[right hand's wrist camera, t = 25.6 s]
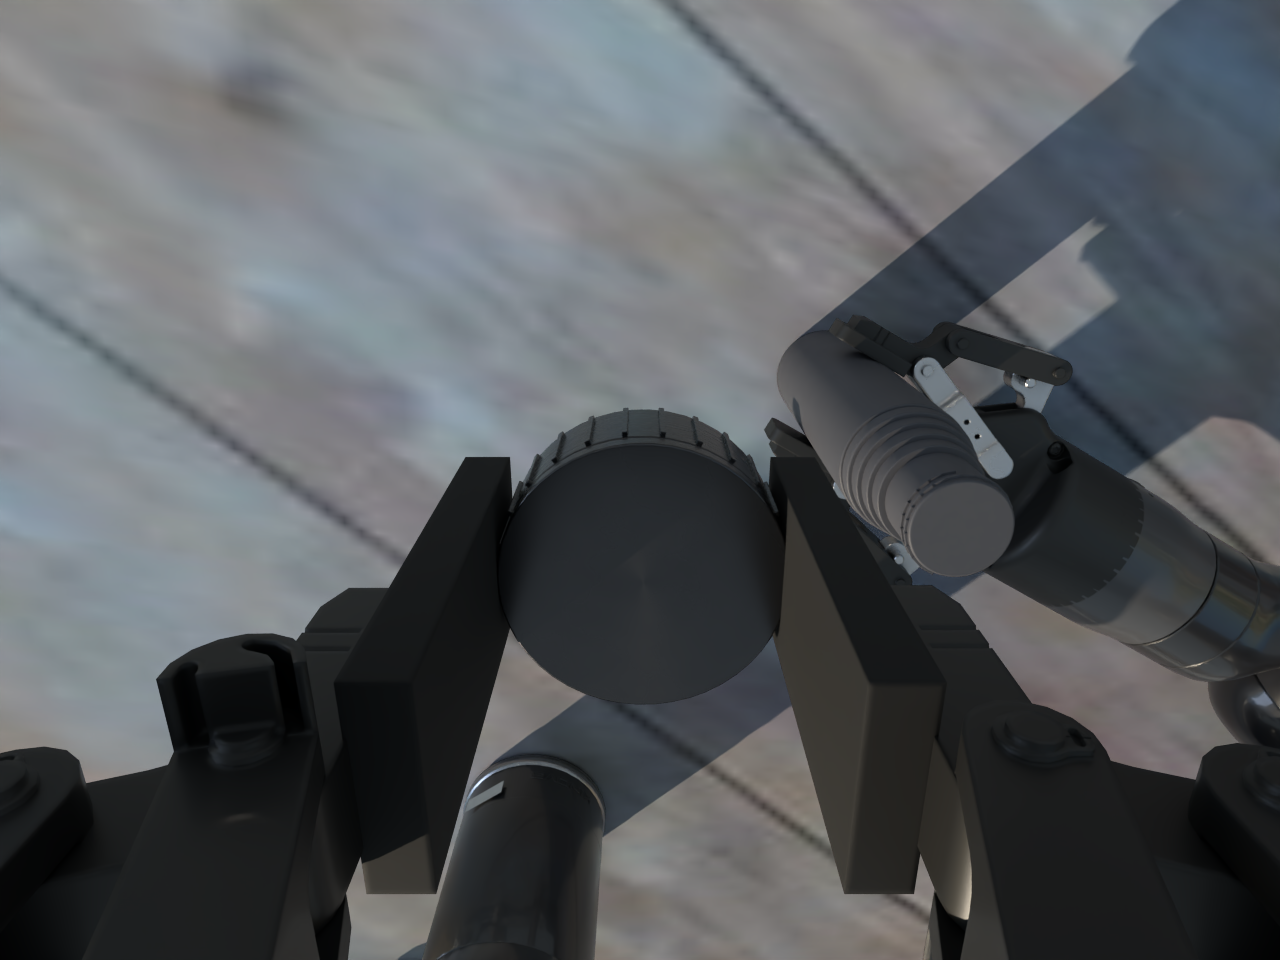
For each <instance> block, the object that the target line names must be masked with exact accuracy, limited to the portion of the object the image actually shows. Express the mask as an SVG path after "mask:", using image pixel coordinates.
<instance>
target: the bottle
mask: <svg viewBox="0 0 1280 960" xmlns="http://www.w3.org/2000/svg"><path fill="white" fill-rule="evenodd" d="M777 384H778V389H779V392H780V394H781V397H782V398H783V400H784V402H785V403H786V405H787V406H788V408H789V410H790V411H791V413H792V414H793V416H794V418H795V419H796V421H797V422H798V424H799V425H800V427H801V429H802V430H803V432H804V433H805V435H806V437H807V438H808V440H809V441H810V443H811V445H812V446H813V448H814V449H815V451H816V452H817V454H818V456H819V457H820V459H821V460H822V462H823V464H824V465H825V467H826V468H827V470H828V472H829V473H830V475H831V476H832V478H833V479H834V481H835V483H836V484H837V486H838V487H839V489H840V491H841V492H842V494H843V495H844V497H845V499H846V500H847V502H848V503H849V505H850V506H851V507H852V508H853V509H854V510H855V511H856V512H857V513H858V514H859V515H860V516H861V517H862V518H863V519H864V520H865V521H867V522H868V523H870V524H871V525H873V526H875V527H877V528H878V529H880V530H881V531H883V532H885V533H887V534H889V535H890V536H892V537H894V538H896V539H898V540H900V541H901V542H903V544H904V546H905V549H906V551H907V552H908V554H909V555H910V556H911V558H912V559H913V560H914V561H915V562H916V563H917V564H918V566H919V567H920V568H922V569H923V570H925V571H927V572H928V573H930V574H933V573H936V574H939V575H943V576H950V577H961V576H968V575H971V574H975V573H977V572H980V571H982V570H984V569H986V568H987V567H989V566H990V565H992V564H993V563H994V562H996V561H997V560H998V559H999V558H1000V557H1001V556H1002V555H1003V553H1004V552H1005V550H1006V549H1007V547H1008V546H1009V544H1010V541H1011V539H1012V536H1013V532H1014V526H1015V519H1014V512H1013V506H1012V504H1011V502H1010V499H1009V497H1008V495H1007V494H1006V493H1005V491H1004V490H1003V489H1002V488H1001V487H1000V486H999V485H998V484H997V483H995V482H993V481H992V480H990V479H989V478H987V477H986V476H985V473H984V471H983V469H982V466H981V463H980V461H979V459H978V456H977V453H976V451H975V449H974V447H973V444H972V442H971V440H970V438H969V437H968V435H967V434H966V433H965V431H964V430H963V429H962V427H961V426H960V425H959V423H958V422H957V421H956V420H955V419H954V418H953V417H951V416H950V415H949V414H948V413H946V412H945V411H944V410H942V409H941V408H940V407H938V406H937V405H936V404H935V403H933V402H932V401H931V400H929V399H928V398H927V397H926V396H924V395H923V394H922V393H920V392H919V391H918V390H916V389H915V388H914V387H913V386H911V385H910V384H909V383H907V382H906V381H905V380H903V379H902V378H901V377H900V376H898V375H897V374H896V373H894V372H893V371H892V370H891V369H889V368H888V367H886V366H884V365H882V364H881V363H879V362H877V361H876V360H874V359H872V358H871V357H869V356H867V355H865V354H864V353H862V352H860V351H859V350H857V349H855V348H854V347H852V346H850V345H849V344H847V343H845V342H844V341H842V340H840V339H839V338H837V337H836V336H834V335H833V334H832V333H831V332H830V331H816V332H812V333H809V334H807V335H804V336H802V337H801V338H799V339H798V340H796V341H795V342H794V343H793V344H792V345H791V346H790V347H789V348H788V349H787V350H786V352H785V353H784V355H783V357H782V359H781V361H780V363H779V367H778V372H777Z"/></svg>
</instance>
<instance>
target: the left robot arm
mask: <svg viewBox="0 0 1280 960" xmlns="http://www.w3.org/2000/svg"><path fill="white" fill-rule="evenodd" d="M829 331H830V332H831V333H832V334H833V335H834V336H836V337H837V338H839V339H840V340H842V341H844V342H845V343H847V344H849V345H850V346H852V347H854V348H855V349H857V350H859V351H860V352H862V353H864V354H865V355H867V356H869V357H871V358H872V359H874V360H876V361H877V362H879V363H881V364H882V365H884V366H886V367H888V368H889V369H891V370H892V371H894V372H896V373H897V374H899V375H901V376H902V377H904V376H905V375H907V377H908V378H909V380H910V381H911V382H912V384H913V385H914V386H915V388H916V389H917V390H918V391H919V392H920V393H922V394H923V395H924V396H926V397H927V398H928V399H929V400H931V401H932V402H933V403H935V404H936V405H937V406H938V407H940V408H941V409H942V410H944V411H945V412H946V413H948V414H949V415H950V416H951V417H953V418H954V419H955V420H956V421H957V422H958V423H959V425H960V426H961V427H962V429H963V430H964V431H965V433H966V434H967V435H968V437H969V438H970V440H971V442H972V444H973V447H974V449H975V451H976V453H977V456H978V459H979V461H980V463H981V466H982V469H983V471H984V473H985V476H986V477H987V478H989V479H990V480H992V481H993V482H995V483H997V484H998V485H999V486H1000V487H1001V488H1002V489H1003V490H1004V491H1005V493H1006V494H1007V495H1008V497H1009V499H1010V502H1011V504H1012V506H1013V512H1014V519H1015V526H1014V532H1013V536H1012V539H1011V541H1010V544H1009V546H1008V547H1007V549H1006V550H1005V552H1004V553H1003V555H1002V556H1001V557H1000V558H999V559H998V560H997V561H996V562H994V563H993V564H992V565H990V566H989V567H987V568H986V569H984V570H982V571H983V572H985V573H987V574H989V575H991V576H992V577H994V578H996V579H998V580H999V581H1001V582H1003V583H1005V584H1007V585H1008V586H1010V587H1012V588H1014V589H1016V590H1017V591H1019V592H1021V593H1023V594H1024V595H1026V596H1028V597H1030V598H1032V599H1033V600H1035V601H1037V602H1039V603H1041V604H1042V605H1044V606H1046V607H1048V608H1050V609H1051V610H1053V611H1055V612H1057V613H1059V614H1060V615H1062V616H1064V617H1066V618H1068V619H1069V620H1071V621H1073V622H1075V623H1077V624H1079V625H1081V626H1083V627H1086V628H1088V629H1091V630H1093V631H1095V632H1098V633H1101V634H1104V635H1107V636H1109V637H1111V638H1113V639H1115V640H1118V641H1119V642H1121V643H1123V644H1124V645H1126V646H1128V647H1130V648H1132V649H1133V650H1135V651H1137V652H1139V653H1141V654H1142V655H1144V656H1146V657H1148V658H1149V659H1151V660H1153V661H1155V662H1156V663H1158V664H1160V665H1162V666H1163V667H1165V668H1167V669H1169V670H1171V671H1173V672H1175V673H1177V674H1180V675H1182V676H1185V677H1187V678H1190V679H1193V680H1197V681H1205V682H1208V691H1209V698H1210V701H1211V704H1212V706H1213V709H1214V711H1215V713H1216V714H1217V716H1218V718H1219V719H1220V721H1221V722H1222V723H1223V724H1224V726H1225V727H1226V728H1227V729H1228V731H1229V732H1230V733H1231V734H1232V736H1233V737H1234V738H1235V739H1236V740H1237V741H1238V742H1239V743H1241V744H1251V745H1260V746H1268V747H1272V748H1277V749H1280V566H1277V565H1273V564H1268V563H1264V562H1260V561H1256V560H1253V559H1251V558H1249V557H1248V556H1246V555H1245V554H1243V553H1241V552H1239V551H1238V550H1236V549H1235V548H1233V547H1231V546H1230V545H1228V544H1226V543H1225V542H1223V541H1221V540H1220V539H1218V538H1216V537H1215V536H1213V535H1211V534H1210V533H1208V532H1206V531H1205V530H1203V529H1201V528H1200V527H1198V526H1197V525H1195V524H1194V523H1192V522H1191V521H1190V520H1189V519H1188V518H1187V517H1185V516H1184V515H1183V514H1182V513H1181V512H1180V511H1178V510H1177V509H1176V508H1175V507H1173V506H1172V505H1170V504H1169V503H1167V502H1166V501H1164V500H1163V499H1161V498H1160V497H1158V496H1157V495H1155V494H1153V493H1152V492H1150V491H1148V490H1147V489H1145V488H1144V487H1143V486H1142V485H1141V484H1140V483H1138V482H1136V481H1134V480H1132V479H1129V478H1127V477H1125V476H1123V475H1122V474H1120V473H1118V472H1117V471H1115V470H1113V469H1112V468H1110V467H1108V466H1107V465H1105V464H1103V463H1102V462H1100V461H1098V460H1097V459H1095V458H1093V457H1092V456H1090V455H1088V454H1087V453H1085V452H1084V451H1082V450H1080V449H1079V448H1077V447H1075V446H1074V445H1072V444H1070V443H1069V442H1067V441H1065V440H1064V439H1062V438H1060V437H1059V436H1057V435H1055V434H1054V433H1053V432H1052V431H1051V429H1050V428H1049V426H1048V423H1047V421H1046V419H1045V418H1044V416H1043V415H1042V414H1041V412H1042V410H1043V408H1044V406H1045V403H1046V401H1047V399H1048V397H1049V395H1050V393H1051V391H1052V389H1053V386H1054V385H1055V386H1058V385H1062V384H1064V383H1066V382H1067V381H1068V380H1069V379H1070V377H1071V375H1072V366H1071V364H1070V363H1069V362H1068V361H1066V360H1063V359H1061V358H1059V357H1056V356H1054V355H1052V354H1049V353H1047V352H1045V351H1042V350H1039V349H1036V348H1033V347H1030V346H1026V345H1023V344H1020V343H1016V342H1013V341H1010V340H1006V339H1003V338H1000V337H997V336H993V335H990V334H987V333H983V332H980V331H977V330H973V329H970V328H967V327H963V326H960V325H957V324H954V323H950V322H942V323H939V324H938V325H937V326H936V327H935V328H934V329H933V332H932V334H931V335H929V336H928V337H927V338H925V339H924V340H923V341H921V342H918V343H909V342H906V341H904V340H902V339H901V338H899V337H898V336H896V335H894V334H893V333H891V332H889V331H888V330H886V329H884V328H883V327H881V326H879V325H878V324H876V323H874V322H873V321H871V320H869V319H868V318H866V317H864V316H857V315H853V316H852V318H851V319H850V321H849V322H848V324H846V323H845V322H843V321H841V320H839V319H838V318H836V320H835V321H834V323H833V325H832V326H831V328H830V329H829ZM958 357H961V358H964V359H967V360H971V361H974V362H978V363H981V364H984V365H988V366H991V367H994V368H998V369H1001V370H1004V371H1005V372H1004V375H1003V379H1004V382H1005V384H1006V385H1008V386H1009V387H1011V388H1013V389H1014V390H1015V392H1016V394H1017V400H1016V403H1006V404H996V405H987V406H977V407H972V405H971V404H970V403H969V401H968V400H967V399H966V397H965V396H964V395H963V394H962V393H961V392H960V391H959V390H958V389H957V387H956V386H955V385H954V383H953V382H952V381H951V379H950V378H949V376H948V375H947V374H946V372H945V371H944V370H943V369H944V368H945V367H946V366H947V365H949V364H950V363H951V362H953V361H954V360H955V359H957V358H958ZM764 430H765V432H766V435H767V437H768V438H769V439H770V440H771V441H770V443H769V445H770V447H771V449H772V451H773V453H774V454H775V456H776V457H815V458H816V460H817V462H818V463H819V465H820V467H821V468H822V470H823V472H824V473H825V475H826V477H827V479H828V480H829V482H830V484H831V485H832V487H833V489H834V490H835V492H836V494H837V496H838V497H839V499H840V501H841V502H842V504H843V506H844V508H845V509H846V511H847V513H848V514H849V516H850V518H851V519H852V521H853V523H854V525H855V526H856V528H857V530H858V531H859V533H860V535H861V536H862V538H863V540H864V542H865V543H866V545H867V547H868V548H869V550H870V552H871V554H872V555H873V557H874V559H875V560H876V562H877V564H878V565H879V567H880V569H881V571H882V572H883V574H884V576H885V577H886V579H887V581H888V583H889V584H890V585H912V578H911V576H910V575H911V574H912V573H913V572H914V571H916V570H917V569H918V568H919V566H918V564H917V563H916V562H915V561H914V560H913V559H912V558H911V556H910V555H909V554H908V552H907V551H906V549H905V546H904V544H903V542H901V541H900V540H898V539H896V538H894V537H892V536H887V537H884V538H883V539H882V540H880V539H878V538H877V537H876V536H875V535H874V534H873V533H872V532H871V531H870V530H869V529H868V528H867V527H866V526H865V525H864V524H863V523H861V522H860V521H859V520H858V519H857V518H856V517H855V516H854V515H853V514H852V513H851V512H850V511H849V508H850V505H849V503H848V502H847V500H846V499H845V497H844V495H843V494H842V492H841V491H840V489H839V487H838V486H837V484H836V483H835V481H834V479H833V478H832V476H831V475H830V473H829V472H828V470H827V468H826V467H825V465H824V464H823V462H822V460H821V459H820V457H819V456H818V454H817V452H816V451H815V449H814V448H813V446H812V445H811V443H810V441H809V440H808V438H807V437H806V436H805V435H804V434H802V433H800V432H798V431H797V430H795V429H793V428H791V427H789V426H788V425H786V424H784V423H782V422H781V421H779V420H777V419H775V418H771V420H770V422H769V423H768V425H767V426H766V428H765V429H764ZM604 828H605V805H604V801H603V797H602V795H601V793H600V791H599V789H598V787H597V786H596V784H595V783H594V782H593V781H592V779H591V778H590V777H589V776H588V775H587V774H585V773H584V772H583V771H582V770H580V769H579V768H577V767H576V766H574V765H572V764H570V763H568V762H566V761H563V760H561V759H558V758H554V757H550V756H544V755H520V756H515V757H511V758H507V759H504V760H502V761H499V762H497V763H495V764H493V765H492V766H490V767H489V768H487V769H486V770H485V771H483V772H482V773H481V774H480V775H479V776H478V777H477V779H476V780H475V781H474V783H473V784H472V786H471V788H470V790H469V793H468V795H467V799H466V802H465V806H464V811H463V819H462V822H461V826H460V829H459V833H458V836H457V839H456V842H455V846H454V849H453V853H452V856H451V860H450V863H449V867H448V870H447V874H446V877H445V881H444V884H443V888H442V891H441V895H440V898H439V902H438V905H437V909H436V912H435V916H434V919H433V923H432V926H431V930H430V933H429V937H428V940H427V944H426V947H425V951H424V954H423V958H422V960H594V958H595V943H596V927H597V912H598V896H599V881H600V865H601V852H602V837H603V834H604Z"/></svg>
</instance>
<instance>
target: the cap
mask: <svg viewBox="0 0 1280 960" xmlns="http://www.w3.org/2000/svg"><path fill="white" fill-rule="evenodd" d="M507 515H508V516H509V519H508V522H507V524H506V527H505V530H504V533H503V535H502V538H501V541H500V549H499V554H498V559H497V583H498V594H499V598H500V603H501V607H502V610H503V613H504V615H505V618H506V620H507V623H508V625H509V627H510V629H511V630H512V632H513V634H514V636H515V638H516V639H517V641H518V642H519V643H520V645H521V646H522V647H523V649H524V650H525V651H526V653H527V654H528V655H529V656H530V657H531V658H532V659H533V660H534V661H535V662H536V663H537V664H538V665H539V666H540V667H541V668H542V669H544V670H545V671H546V672H548V673H549V674H550V675H551V676H553V677H554V678H556V679H557V680H559V681H561V682H562V683H564V684H566V685H567V686H569V687H571V688H573V689H576V690H578V691H580V692H582V693H584V694H587V695H590V696H593V697H596V698H599V699H603V700H608V701H613V702H618V703H627V704H660V703H668V702H674V701H678V700H682V699H687V698H690V697H693V696H696V695H699V694H702V693H704V692H707V691H709V690H711V689H713V688H715V687H717V686H719V685H721V684H723V683H724V682H726V681H727V680H729V679H730V678H732V677H734V676H735V675H737V674H738V673H739V672H740V671H741V670H743V669H744V668H745V667H746V666H747V665H749V664H750V663H751V662H752V661H753V660H754V658H755V657H756V656H757V655H758V654H759V653H760V652H761V651H762V650H763V648H764V647H765V645H766V644H767V643H768V641H769V640H770V638H771V637H772V635H773V633H774V631H775V629H776V628H777V626H778V624H779V622H780V619H781V608H782V594H783V579H784V565H785V550H786V542H785V537H784V535H783V532H782V529H781V527H780V524H779V522H778V519H777V517H778V516H780V513H779V511H778V508H777V505H776V503H775V500H774V498H773V495H772V493H771V490H770V488H769V485H768V483H767V482H764V483H763V481H762V479H761V477H760V475H759V473H758V472H757V470H756V467H755V464H754V462H753V459H752V457H751V456H750V454H749V455H747V456H746V455H745V454H744V452H743V451H742V450H741V449H739V448H738V447H737V446H736V445H735V444H734V443H733V442H732V441H731V440H730V439H729V436H728V434H727V433H725V432H724V433H723V434H721V433H720V432H719V431H717V430H715V429H714V428H712V427H710V426H708V425H706V424H704V423H703V422H700V421H699V420H698V417H695V416H693V418H690V417H687V416H684V415H680V414H676V413H672V412H667V411H664V408H659V410H628V408H623V411H621V412H614V413H610V414H607V415H603V416H599V417H596V418H594V416H591V417H589V420H588V421H587V422H584V423H582V424H580V425H578V426H576V427H575V428H573V429H571V430H569V431H568V432H566V433H565V434H564V432H561V433H560V434H559V435H558V439H557V440H555V441H554V442H553V443H552V444H551V445H550V446H549V447H548V448H547V449H546V450H545V451H544V452H543V453H542V454H541V455H539V454H537V455H536V456H535V457H534V460H533V463H532V466H531V468H530V470H529V472H528V474H527V475H526V477H525V479H524V481H523V482H521V481H519V483H518V486H517V488H516V491H515V494H514V496H513V499H512V501H511V504H510V507H509V509H508V512H507Z"/></svg>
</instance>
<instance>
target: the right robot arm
mask: <svg viewBox="0 0 1280 960" xmlns="http://www.w3.org/2000/svg"><path fill="white" fill-rule="evenodd" d="M769 488H770V490H771V493H772V495H773V498H774V500H775V503H776V505H777V508H778V511H779V513H780V516H778V517H777V519H778V522H779V524H780V527H781V529H782V532H783V535H784V537H785V542H786V550H785V565H784V579H783V594H782V608H781V619H780V622H779V624H778V626H777V628H776V629H775V631H774V633H773V639H774V642H775V646H776V649H777V653H778V657H779V660H780V664H781V667H782V671H783V675H784V678H785V682H786V685H787V689H788V693H789V696H790V700H791V703H792V707H793V711H794V714H795V718H796V721H797V725H798V729H799V732H800V736H801V739H802V743H803V747H804V750H805V754H806V757H807V761H808V765H809V768H810V772H811V775H812V779H813V783H814V786H815V790H816V793H817V797H818V801H819V804H820V808H821V811H822V815H823V819H824V822H825V826H826V829H827V833H828V837H829V840H830V844H831V847H832V851H833V855H834V858H835V862H836V865H837V869H838V873H839V876H840V880H841V883H842V887H843V891H844V894H914V890H915V884H916V877H917V871H918V865H919V858H920V854H921V856H922V859H923V861H924V864H925V866H926V868H927V871H928V873H929V876H930V878H931V881H932V883H933V886H934V888H935V890H934V896H933V902H932V908H931V914H930V920H929V926H928V932H927V937H926V943H925V949H924V955H923V960H1280V749H1277V748H1272V747H1268V746H1260V745H1251V744H1241V743H1235V744H1229V745H1222V746H1216V747H1214V748H1213V749H1212V750H1210V751H1209V752H1208V753H1207V754H1206V755H1204V756H1203V757H1202V761H1201V764H1200V767H1199V771H1198V774H1197V777H1196V780H1194V779H1189V778H1184V777H1179V776H1174V775H1170V774H1165V773H1160V772H1155V771H1150V770H1145V769H1141V768H1136V767H1132V766H1128V765H1124V764H1121V763H1117V762H1113V761H1111V760H1110V758H1109V756H1108V754H1107V751H1106V750H1105V748H1104V747H1103V746H1102V744H1101V743H1100V742H1099V740H1098V739H1097V738H1096V736H1095V735H1094V734H1093V733H1092V732H1091V731H1089V730H1088V729H1087V728H1085V727H1084V726H1082V725H1081V724H1080V723H1078V722H1077V721H1076V720H1074V719H1073V718H1071V717H1069V716H1066V715H1064V714H1062V713H1059V712H1057V711H1055V710H1053V709H1050V708H1048V707H1045V706H1040V705H1036V704H1032V703H1031V701H1030V700H1029V699H1028V697H1027V696H1026V695H1025V693H1024V692H1023V690H1022V689H1021V688H1020V686H1019V685H1018V683H1017V682H1016V681H1015V679H1014V678H1013V676H1012V675H1011V674H1010V672H1009V671H1008V670H1007V668H1006V667H1005V665H1004V664H1003V663H1002V661H1001V660H1000V658H999V657H998V656H997V654H996V653H995V651H994V650H993V649H992V648H989V643H988V642H987V640H986V639H985V638H984V636H983V635H982V633H981V632H980V631H979V630H976V625H975V624H974V622H973V621H972V620H971V618H970V617H969V615H968V614H967V613H966V611H965V610H964V608H963V607H962V606H961V604H960V603H958V602H957V601H955V600H953V599H952V598H950V597H949V596H947V595H946V594H944V593H943V592H941V591H940V590H938V589H937V588H935V587H934V586H932V585H890V584H889V583H888V581H887V579H886V577H885V576H884V574H883V572H882V571H881V569H880V567H879V565H878V564H877V562H876V560H875V559H874V557H873V555H872V554H871V552H870V550H869V548H868V547H867V545H866V543H865V542H864V540H863V538H862V536H861V535H860V533H859V531H858V530H857V528H856V526H855V525H854V523H853V521H852V519H851V518H850V516H849V514H848V513H847V511H846V509H845V508H844V506H843V504H842V502H841V501H840V499H839V497H838V496H837V494H836V492H835V490H834V489H833V487H832V485H831V484H830V482H829V480H828V479H827V477H826V475H825V473H824V472H823V470H822V468H821V467H820V465H819V463H818V462H817V460H816V458H815V457H771V459H770V476H769ZM511 501H512V483H511V467H510V457H465V459H464V461H463V462H462V464H461V466H460V468H459V469H458V471H457V473H456V474H455V476H454V478H453V480H452V481H451V483H450V485H449V486H448V488H447V490H446V491H445V493H444V495H443V497H442V498H441V500H440V502H439V503H438V505H437V507H436V508H435V510H434V512H433V514H432V515H431V517H430V519H429V520H428V522H427V524H426V526H425V527H424V529H423V531H422V532H421V534H420V536H419V537H418V539H417V541H416V543H415V544H414V546H413V548H412V549H411V551H410V553H409V555H408V556H407V558H406V560H405V561H404V563H403V565H402V566H401V568H400V570H399V572H398V573H397V575H396V577H395V578H394V580H393V582H392V583H391V585H390V587H389V588H348V589H347V590H345V591H344V592H342V593H341V594H339V595H338V596H336V597H335V598H333V599H332V600H330V601H329V602H327V603H326V604H324V605H323V606H321V607H320V608H319V610H318V611H317V613H316V614H315V615H314V617H313V618H312V620H311V621H310V622H309V624H308V625H307V627H306V628H305V633H302V634H301V635H300V636H299V638H298V639H297V641H295V640H294V639H293V638H289V637H285V636H281V635H277V634H244V635H239V636H234V637H229V638H224V639H219V640H216V641H214V642H211V643H208V644H206V645H203V646H201V647H198V648H195V649H193V650H191V651H189V652H188V653H186V654H184V655H183V656H181V657H180V658H178V659H176V660H175V661H173V662H172V663H170V664H169V665H168V666H167V667H166V669H165V670H164V671H163V672H162V673H161V674H160V675H159V677H158V678H157V679H156V681H157V685H158V689H159V693H160V697H161V701H162V705H163V709H164V713H165V717H166V721H167V725H168V729H169V733H170V737H171V741H172V745H173V749H174V753H173V755H172V757H171V760H170V762H169V764H168V765H166V766H162V767H159V768H155V769H151V770H148V771H143V772H138V773H133V774H128V775H124V776H119V777H114V778H109V779H104V780H100V781H95V782H90V783H86V782H85V778H84V775H83V772H82V768H81V765H80V762H79V760H78V759H77V758H75V757H74V756H73V755H72V754H71V753H69V752H68V751H67V750H62V749H56V748H50V747H37V748H28V749H18V750H13V751H8V752H4V753H0V960H348V953H349V944H350V935H351V921H350V915H349V908H348V902H347V896H346V892H347V889H348V887H349V884H350V882H351V879H352V877H353V874H354V872H355V869H356V867H357V864H358V862H359V859H360V857H361V861H362V868H363V874H364V880H365V887H366V893H367V894H436V893H437V889H438V885H439V882H440V878H441V875H442V871H443V867H444V864H445V860H446V857H447V853H448V849H449V846H450V842H451V839H452V835H453V831H454V828H455V824H456V821H457V817H458V813H459V810H460V806H461V803H462V799H463V795H464V792H465V788H466V784H467V781H468V777H469V774H470V770H471V766H472V763H473V759H474V756H475V752H476V748H477V745H478V741H479V738H480V734H481V730H482V727H483V723H484V720H485V716H486V712H487V709H488V705H489V702H490V698H491V694H492V691H493V687H494V684H495V680H496V676H497V673H498V669H499V666H500V662H501V658H502V655H503V651H504V648H505V644H506V640H507V637H508V633H509V630H510V627H509V625H508V623H507V620H506V618H505V615H504V613H503V610H502V607H501V603H500V598H499V594H498V583H497V559H498V554H499V549H500V541H501V538H502V535H503V533H504V530H505V527H506V524H507V522H508V519H509V516H508V515H507V512H508V509H509V507H510V504H511Z"/></svg>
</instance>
